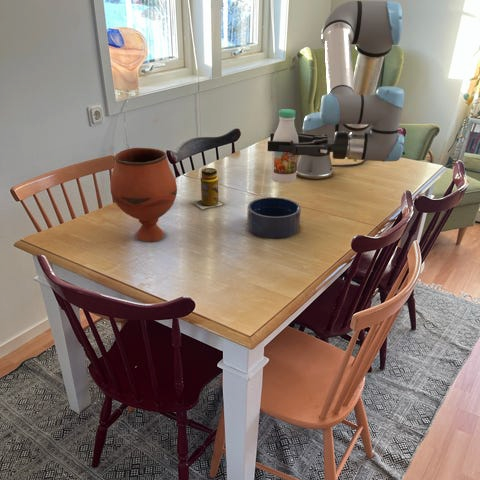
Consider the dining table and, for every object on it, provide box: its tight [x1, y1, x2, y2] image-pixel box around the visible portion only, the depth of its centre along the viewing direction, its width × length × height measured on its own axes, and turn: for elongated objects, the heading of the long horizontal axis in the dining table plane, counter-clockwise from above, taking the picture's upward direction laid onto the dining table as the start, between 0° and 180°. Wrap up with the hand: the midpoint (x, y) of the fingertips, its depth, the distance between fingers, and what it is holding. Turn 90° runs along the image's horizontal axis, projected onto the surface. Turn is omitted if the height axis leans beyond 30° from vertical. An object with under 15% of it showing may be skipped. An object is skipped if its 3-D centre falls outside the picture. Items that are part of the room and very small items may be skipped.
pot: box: [246, 196, 302, 240], centre depth 152 cm, size 17×17×7 cm
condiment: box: [192, 167, 224, 210], centre depth 166 cm, size 7×8×12 cm
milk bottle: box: [270, 108, 299, 184], centre depth 141 cm, size 8×8×20 cm
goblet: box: [109, 147, 178, 243], centre depth 141 cm, size 19×19×25 cm
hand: (269, 142), depth 141 cm, fingers closed on milk bottle, 8 cm apart
